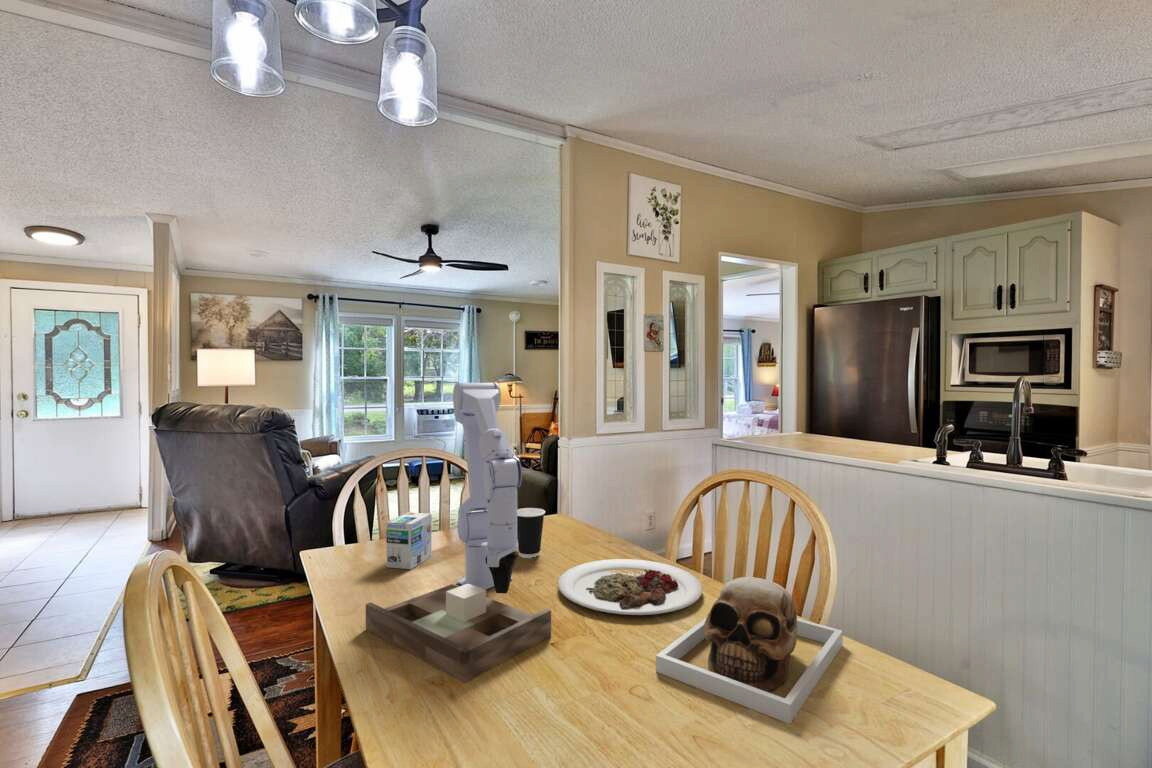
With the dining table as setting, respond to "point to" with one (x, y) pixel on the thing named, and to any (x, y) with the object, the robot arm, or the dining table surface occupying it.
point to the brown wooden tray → (458, 633)
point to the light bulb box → (408, 540)
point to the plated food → (630, 587)
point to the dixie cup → (529, 531)
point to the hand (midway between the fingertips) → (502, 592)
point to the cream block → (465, 602)
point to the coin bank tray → (744, 693)
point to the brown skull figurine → (752, 632)
